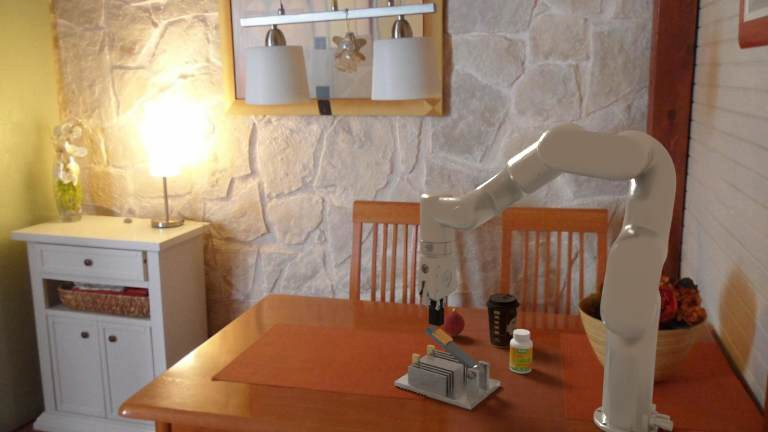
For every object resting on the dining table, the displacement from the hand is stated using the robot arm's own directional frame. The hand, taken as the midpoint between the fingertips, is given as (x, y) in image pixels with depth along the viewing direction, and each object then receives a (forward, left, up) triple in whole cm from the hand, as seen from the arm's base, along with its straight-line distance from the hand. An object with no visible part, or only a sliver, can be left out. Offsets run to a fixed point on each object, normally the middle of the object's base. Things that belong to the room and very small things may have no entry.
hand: (436, 324), depth 158 cm
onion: (+11, -27, -15) cm, 33 cm away
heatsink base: (-3, 0, -15) cm, 15 cm away
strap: (-4, 0, -6) cm, 8 cm away
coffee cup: (-2, -30, -15) cm, 34 cm away
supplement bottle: (-13, -18, -15) cm, 27 cm away
